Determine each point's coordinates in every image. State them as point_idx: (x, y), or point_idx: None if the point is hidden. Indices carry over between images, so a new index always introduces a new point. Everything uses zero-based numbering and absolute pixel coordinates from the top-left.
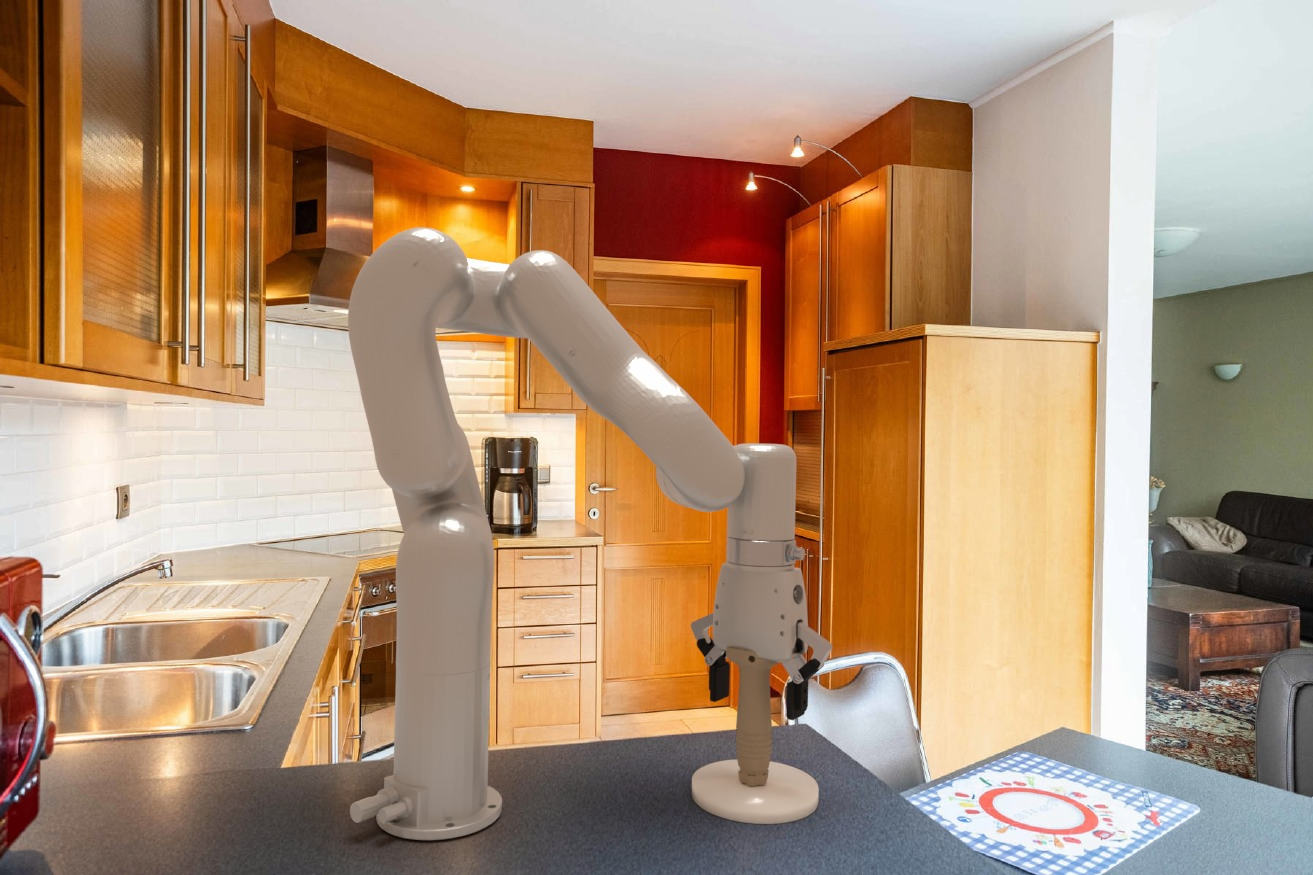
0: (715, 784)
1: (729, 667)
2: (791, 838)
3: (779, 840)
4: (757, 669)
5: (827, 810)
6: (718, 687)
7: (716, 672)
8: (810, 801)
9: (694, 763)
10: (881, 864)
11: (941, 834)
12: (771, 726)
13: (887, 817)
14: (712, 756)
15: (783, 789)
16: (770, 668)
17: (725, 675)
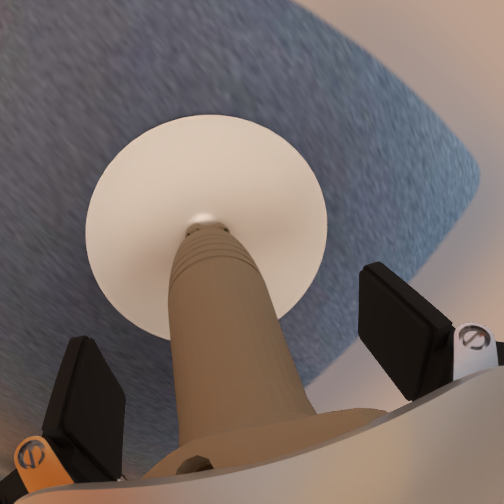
0: None
1: (71, 416)
2: (335, 292)
3: (327, 308)
4: None
5: (327, 179)
6: (116, 417)
7: (121, 469)
8: (325, 221)
9: (31, 220)
10: (429, 255)
11: (453, 133)
12: (263, 282)
13: (397, 132)
14: (21, 166)
15: (268, 225)
16: (313, 414)
17: (91, 414)
